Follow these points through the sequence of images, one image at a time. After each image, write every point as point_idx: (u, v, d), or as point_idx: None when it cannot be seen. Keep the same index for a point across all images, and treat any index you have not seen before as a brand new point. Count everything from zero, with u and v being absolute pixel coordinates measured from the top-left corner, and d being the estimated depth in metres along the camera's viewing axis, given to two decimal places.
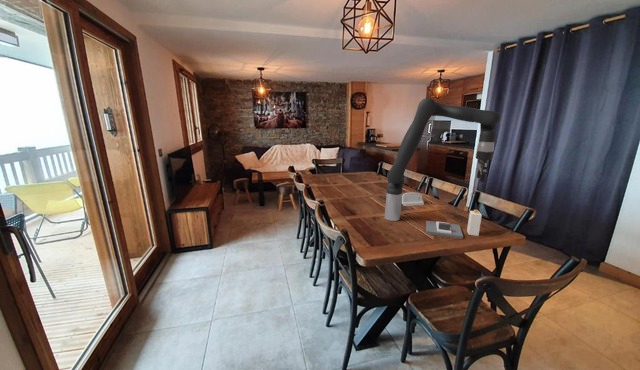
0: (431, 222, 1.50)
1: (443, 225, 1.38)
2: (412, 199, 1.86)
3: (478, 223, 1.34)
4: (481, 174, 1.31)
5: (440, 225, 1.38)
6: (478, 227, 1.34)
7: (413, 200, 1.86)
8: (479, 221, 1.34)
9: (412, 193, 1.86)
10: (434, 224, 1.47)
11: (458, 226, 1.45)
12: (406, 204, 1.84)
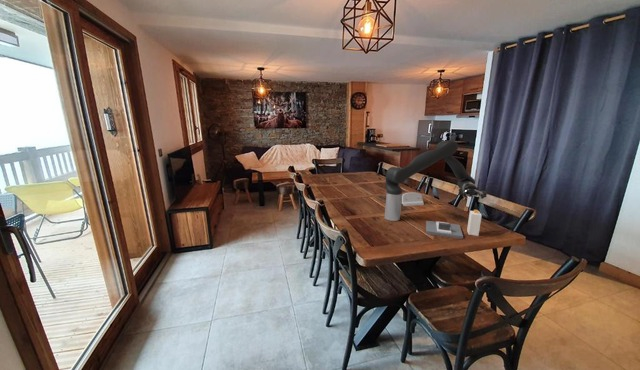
0: (431, 222, 1.50)
1: (443, 225, 1.38)
2: (412, 199, 1.86)
3: (478, 223, 1.34)
4: (483, 193, 1.45)
5: (440, 225, 1.38)
6: (478, 227, 1.34)
7: (413, 200, 1.86)
8: (479, 221, 1.34)
9: (412, 193, 1.86)
10: (434, 224, 1.47)
11: (458, 226, 1.45)
12: (406, 204, 1.84)
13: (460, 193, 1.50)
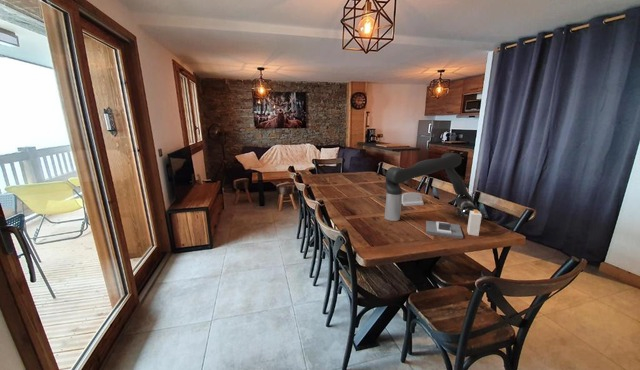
0: (431, 222, 1.50)
1: (443, 225, 1.38)
2: (412, 199, 1.86)
3: (478, 223, 1.34)
4: (481, 214, 1.44)
5: (440, 225, 1.38)
6: (478, 227, 1.34)
7: (413, 200, 1.86)
8: (479, 221, 1.34)
9: (412, 193, 1.87)
10: (434, 224, 1.47)
11: (458, 226, 1.45)
12: (406, 204, 1.84)
13: (458, 213, 1.49)
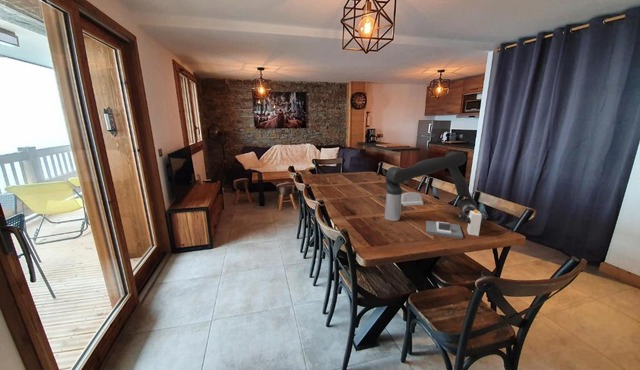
0: (431, 222, 1.50)
1: (443, 225, 1.38)
2: (411, 199, 1.86)
3: (478, 223, 1.34)
4: (481, 219, 1.37)
5: (440, 225, 1.38)
6: (478, 227, 1.34)
7: (412, 200, 1.86)
8: (479, 221, 1.34)
9: (411, 193, 1.87)
10: (434, 224, 1.47)
11: (458, 226, 1.45)
12: (406, 204, 1.84)
13: (464, 218, 1.40)
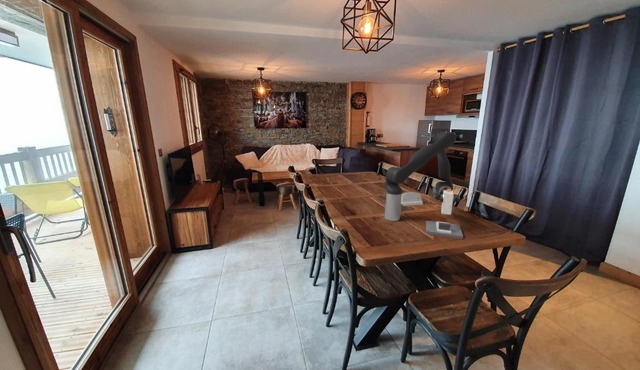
0: (431, 222, 1.50)
1: (443, 225, 1.38)
2: (411, 199, 1.86)
3: (450, 202, 1.36)
4: (454, 198, 1.39)
5: (440, 225, 1.38)
6: (450, 206, 1.36)
7: (412, 200, 1.86)
8: (451, 200, 1.36)
9: (411, 193, 1.87)
10: (434, 224, 1.47)
11: (458, 226, 1.45)
12: (406, 204, 1.84)
13: (438, 198, 1.42)
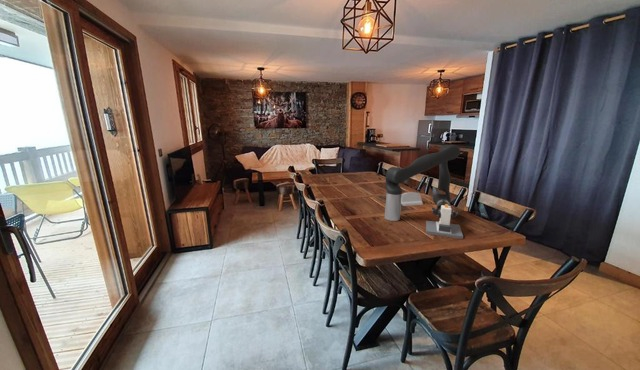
0: (431, 222, 1.50)
1: (443, 227, 1.35)
2: (411, 199, 1.86)
3: (448, 217, 1.36)
4: (452, 213, 1.38)
5: (440, 227, 1.36)
6: (448, 221, 1.36)
7: (412, 200, 1.86)
8: (449, 215, 1.35)
9: (411, 193, 1.87)
10: (434, 224, 1.47)
11: (458, 226, 1.45)
12: (405, 204, 1.84)
13: (435, 213, 1.42)
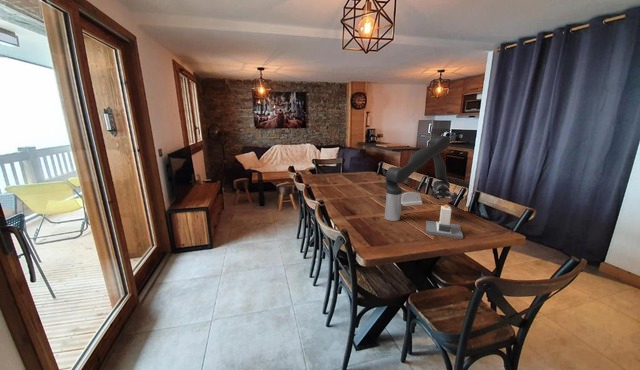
0: (431, 222, 1.50)
1: (443, 227, 1.35)
2: (411, 199, 1.87)
3: (448, 218, 1.36)
4: (454, 195, 1.49)
5: (440, 227, 1.36)
6: (448, 222, 1.36)
7: (412, 200, 1.87)
8: (449, 216, 1.35)
9: (411, 193, 1.87)
10: (434, 224, 1.47)
11: (458, 226, 1.45)
12: (405, 204, 1.84)
13: (432, 194, 1.54)
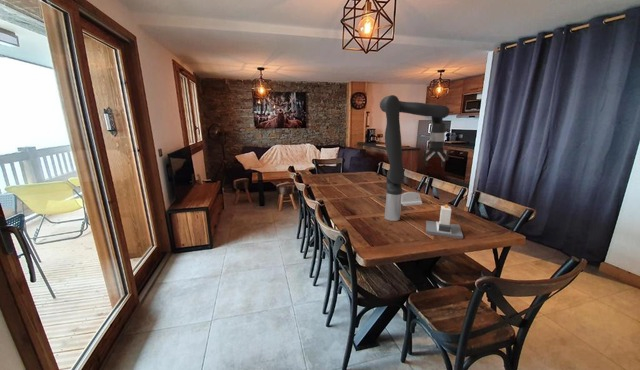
0: (431, 222, 1.50)
1: (443, 227, 1.35)
2: (411, 199, 1.87)
3: (448, 218, 1.36)
4: (444, 161, 1.51)
5: (440, 227, 1.36)
6: (448, 222, 1.36)
7: (412, 200, 1.87)
8: (449, 216, 1.35)
9: (411, 193, 1.87)
10: (434, 224, 1.47)
11: (458, 226, 1.45)
12: (406, 204, 1.84)
13: (424, 159, 1.56)
